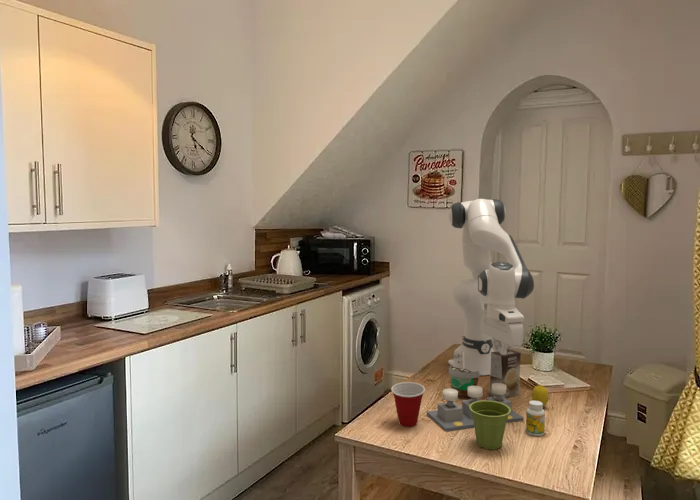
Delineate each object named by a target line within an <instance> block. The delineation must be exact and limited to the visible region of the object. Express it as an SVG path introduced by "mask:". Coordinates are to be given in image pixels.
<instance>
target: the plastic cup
mask: <svg viewBox="0 0 700 500" xmlns="http://www.w3.org/2000/svg"><path fill="white" fill-rule="evenodd" d="M390 391H391V392H392V393H393V394H392V395H393V398H394V402H395V411H396V414H397V419H398V424H399V425H400V426H402V427H406V428H412V427H415V426H417V424H418V420H419V416H420V411H421V406H422V405H421V404H422V399H423V395H424V393H425V391H426V388H425V386H424V385H422V384H420V383H419V382H418V383H417V382H411V381H405V382H404V381H403V382H398V383H395V384H394V385H392V386H391V390H390Z"/></svg>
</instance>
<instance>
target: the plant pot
mask: <svg viewBox="0 0 700 500" xmlns="http://www.w3.org/2000/svg"><path fill="white" fill-rule="evenodd" d="M469 408H470V410H471V412H472V417H473V421H474V428H473V429H474V434H475V441H476V444H477V446H478V447H480V448H483V449H485V450H499V448H501V447H502V446H503V440H504V435H505V430H506V425H507V423H506V421H507V419H508V415H509V414H510V412H511V410H512V408H511V409H510V407H508V406H507V405H505V404H503V403H500V402H496V401H486V400H481V401H476V402H473V403H471V404H470V406H469Z"/></svg>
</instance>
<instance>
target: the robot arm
mask: <svg viewBox="0 0 700 500" xmlns="http://www.w3.org/2000/svg"><path fill="white" fill-rule="evenodd" d="M506 212H507V211H506V207H505V204H504V202H503V201H502V200H501V199H497V198H496V199H495V198H492V199H486V198H477V199H475V200H467V201H462V202H460V201H458V202H454V203H452V205H450V208H449V210H448V219H449V220H448V221H449V222H450V224H451V226H452V227H453V228H454V229H462V234H461V236H462V238H461V239H462V240H461V242H462V243H461V244H462V257H463V260H462V261H463V264H464V266H465V267H466V268H468V269H469V270H470V271H471V274H472V277H473V278H469V279H464V280H461V281H460V282H457V283H456V284H455V285H454V286H453V288H452V294H451V295H452V298H453V301H454V303H456V305H458V306H459V307H460V309H461V311H462V313H463V314H462V315H463V319H464V335H462V336H461V338H462V343H461V344H460V345H459V346H458V347H457V348H456V349H454V351H453V352H454V353H452V354H453V355H452V356H453V357H452V358H451V359H449V360H448V361H447V363H448V364H449V365H450V366H451V365H452V364H453V367H456V368H460V369H467V370H469V371H471V372H477V371H479V374H480V376H488V375H489V376H490V371H491V352H499V353H500V354H501V355H506V354H507V349H508V348H509V346H510V347H513V348H516V347H517V348H518V347H521V346H522V345H523V343H524V342H523V341H524V325H523V322H524V321H525V316H524V315H523V314H522V313H521V312H520V311H519V309H518V308H517V307H516V301H515V299H521V300H522V299H526V298H527V297H528V296H530V295H531V294H532V293H533V291H534V288H535V283H534V278H533V275H532V273H531V272H530V270H529V269H528V267H527V265H526V263H525V261H524V259H523V257H522V254H521V253H520V251H519V249H518V246H517V244H516V242H515V239H514V238H513V236H512V235H511V234H509V233H508V232H506V230H504V228H502V226H501V224H502V223H504V221H505V217H506ZM491 251H494V252H496V253H499V254H500V255H503V256H504V257H505V259H506V260H507V262H505V261H495V262H492V254H491ZM485 305H487V306H485ZM499 342H500V344H499ZM500 345H501V346H500Z"/></svg>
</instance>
